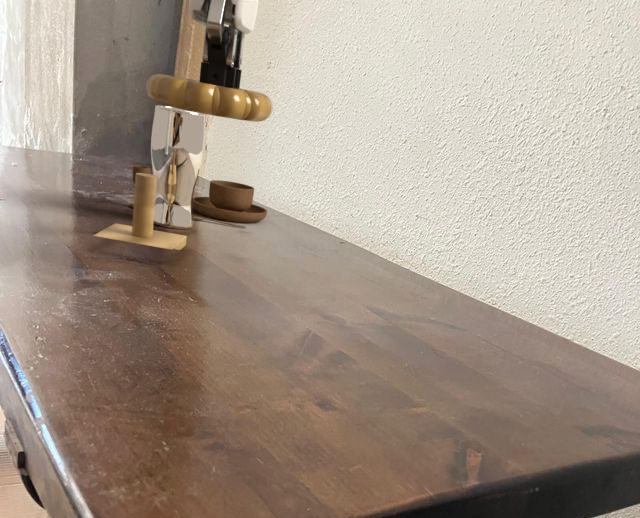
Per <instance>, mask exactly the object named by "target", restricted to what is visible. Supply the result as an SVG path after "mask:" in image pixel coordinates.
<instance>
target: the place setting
mask: <svg viewBox="0 0 640 518" xmlns="http://www.w3.org/2000/svg"><path fill="white" fill-rule="evenodd" d="M136 173H146V174H151V167H149V166H146V165H138V164H137V165H136V164H133V167H132V182H133V184H134V185H135V180H136ZM254 194H255V187H253V186H251V185H248V184H245V183H241V182H234V181H229V180H219V179H214V180H210V181H209V190H208V196H195V197H193V199H192V208H193V209H194V210H195V211H197V212H198V213H199V214H201V215H202V216H205V217H198V216H195V215H193V214H192V218H193V220H196V221H203V220H205V221H210V222H215V223H220V224H223V225H228V226H233V227H238V228H244V229H246V228H247V226H245V225H239V224H234V223H240V224H242V223H243V224H254V223H259V222H261V221H263V220H264V219H265V218H266V217H267V215H268V210H267V209H266V208H264V207H262V206H259V205H256V204H254V203H253V201H254ZM129 207H130V208H132V209H134V203H130V204H129ZM206 217H208V218H206ZM211 218H212V219H211ZM229 222H231V223H229ZM232 222H233V223H232Z"/></svg>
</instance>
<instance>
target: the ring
mask: <svg viewBox="0 0 640 518" xmlns="http://www.w3.org/2000/svg"><path fill="white" fill-rule="evenodd" d="M145 89H146V94H147V96H148V97H149V99H150V100H151V101H152V102H154V103H157V104H158V105H161V106H168V107H174V108H178V109H183V110H187V111H192V112H198V113H203V114H205V115H208V116H213V117H219V118H220V117H221V118H225V119H226V118H227V119H232V120H238V121H246V122H254V123H260V122H264V121H266V120H268V119H269V118H270V117H271V115H272V114H273V108H274V106H273V102H272V99H271V98H270V97H269V96H268V95H267V94H265V93H262V92H259V91H254V90H249V89H244V88H234V89H233V88H227V87H222V86H217V85H211V84H206V83H201V82H199V79H198V80H197V79H192V78H186V77H181V76H174V75H170V74H169V75H168V74H164V73H163V74H161V73H156V74H153V75H151V76H150V77H149V78H148V80H147V81H146V85H145Z"/></svg>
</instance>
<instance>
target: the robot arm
mask: <svg viewBox="0 0 640 518" xmlns="http://www.w3.org/2000/svg"><path fill="white" fill-rule="evenodd" d="M259 2H260V0H188V6H187V7H188V8H187V9H188V14H189V16H190V18H191V19H192V20H193V21H194V22H196V23H198V24H200V25H202V26H204V27H205V29H204V38H203V46H202V47H203V48H202V55H201V57H202V59H201V60H202V61H201V62H200V68H199V69H200V70H199V79H198V81H199V82H201V83H206V84H211V85H217V86H222V87H227V88H233V89H234V88H239V89H241V88H240V87H241V79H242V71H243V70H242V69H241V68H242V61H243V52H244V45H245V44H244V43H245V37H246V36H245V35H249V34H251V33H252V32H254V29H255V26H256V20H257V15H258V10H259V9H258V8H259Z"/></svg>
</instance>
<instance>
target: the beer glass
mask: <svg viewBox="0 0 640 518" xmlns="http://www.w3.org/2000/svg"><path fill="white" fill-rule="evenodd" d="M154 106H155V108H154V115H153V120H152V128H151V137H150V138H151V140H150V159H151V171H152V175H155V176H157V185H156V198H155V211H154V223H153V225H155V226H159V227H162V228H168V229H176V230H188V229H192V228H193V226H194V219H193V218H192V215H193V205H192V199H193V198H194V192H195V189H196V185H197V181H198V178H199V173H200V170H201V166H202V162H203V156H204V151H205V150H204V148H205V136H206V134H205V133H206V114H203V113H198V112H192V111H187V110H183V109H178V108H174V107H169V106H165V105H161V104H157V105H154Z"/></svg>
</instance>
